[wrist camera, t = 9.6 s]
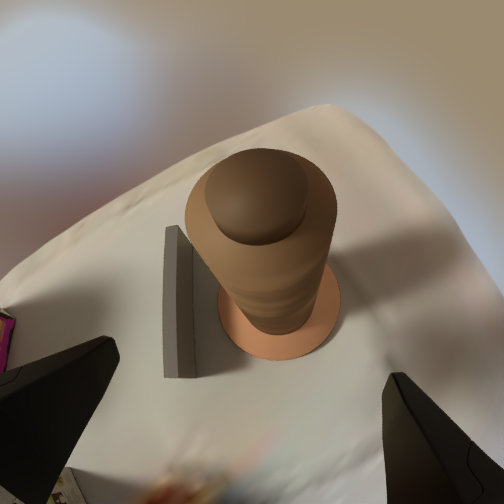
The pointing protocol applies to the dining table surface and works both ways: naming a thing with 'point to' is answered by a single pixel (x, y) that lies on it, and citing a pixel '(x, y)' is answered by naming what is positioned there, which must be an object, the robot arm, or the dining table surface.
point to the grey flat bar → (178, 306)
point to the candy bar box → (5, 337)
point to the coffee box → (64, 490)
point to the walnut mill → (265, 233)
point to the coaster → (289, 343)
